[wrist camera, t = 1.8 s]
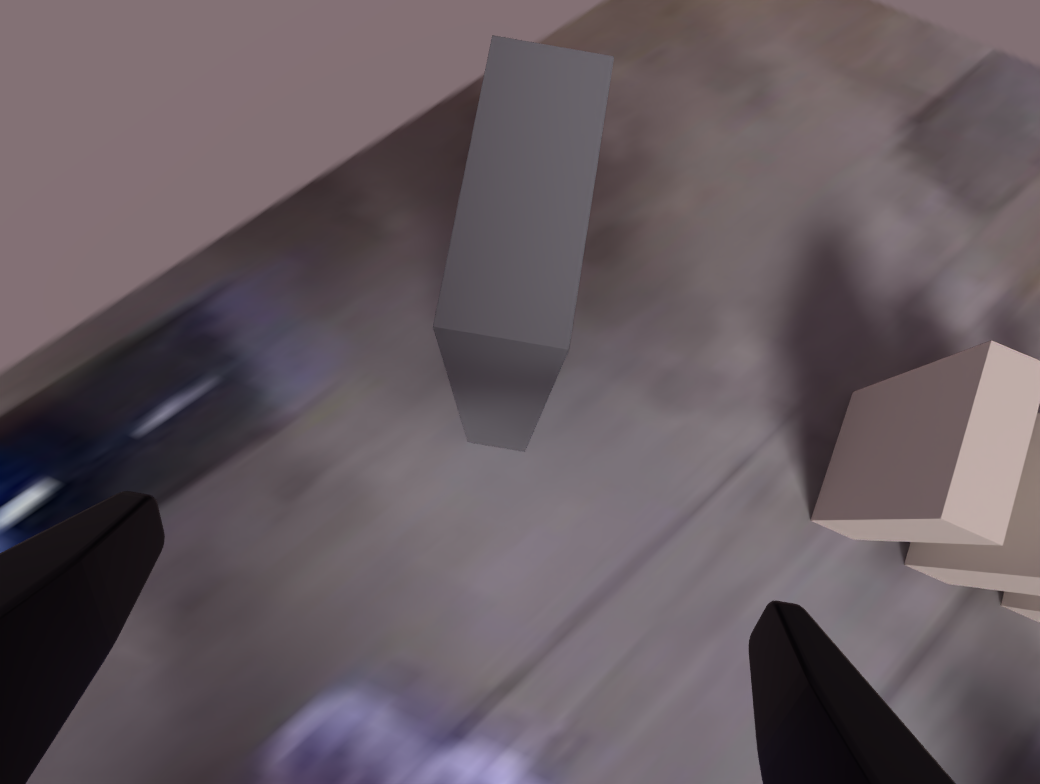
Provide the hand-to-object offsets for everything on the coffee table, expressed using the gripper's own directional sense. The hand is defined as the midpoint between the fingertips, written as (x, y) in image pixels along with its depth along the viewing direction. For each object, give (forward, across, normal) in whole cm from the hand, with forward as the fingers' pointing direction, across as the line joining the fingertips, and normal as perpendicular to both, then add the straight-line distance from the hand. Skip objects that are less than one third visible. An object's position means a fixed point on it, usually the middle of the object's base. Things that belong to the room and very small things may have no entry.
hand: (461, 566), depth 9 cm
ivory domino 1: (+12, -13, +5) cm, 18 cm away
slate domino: (+13, 0, +5) cm, 14 cm away
